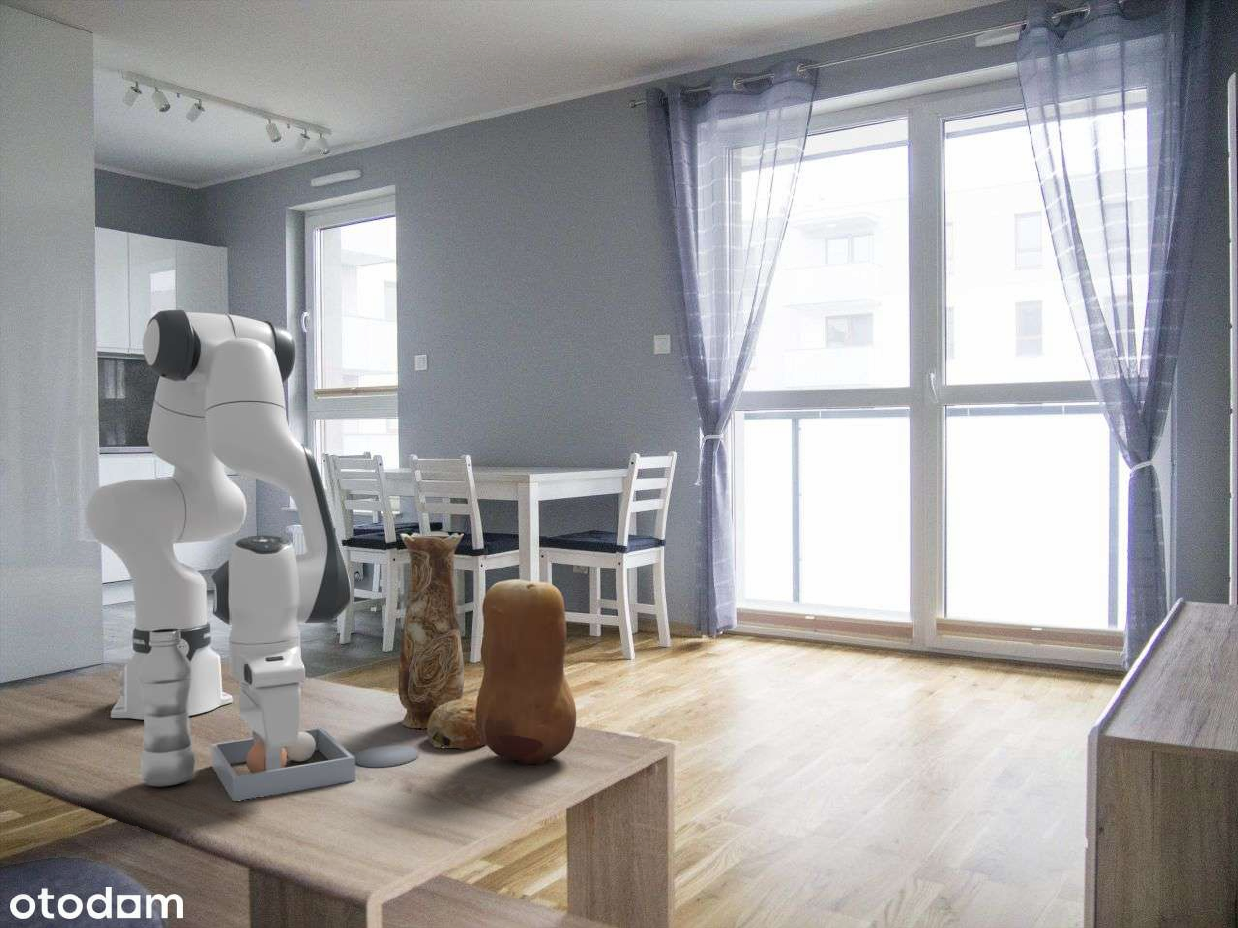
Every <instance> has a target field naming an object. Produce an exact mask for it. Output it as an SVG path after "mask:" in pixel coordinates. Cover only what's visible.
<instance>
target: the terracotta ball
mask: <svg viewBox="0 0 1238 928" xmlns="http://www.w3.org/2000/svg"><path fill="white" fill-rule="evenodd" d="M264 757H265V746H264V742H263V741H260V742H258V743H256V744H255V745H254V746H253V747H252V748H251V749H250V751H249V753H248V756H247V762H246V765H247V769H248V770H249V772H250V774H251V773H257V772H263V771H266V770H265V768H264ZM287 760H288V755H287V753H286V750H285V748H284V747H283V750H282V754H281V768H286V765H287Z"/></svg>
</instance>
